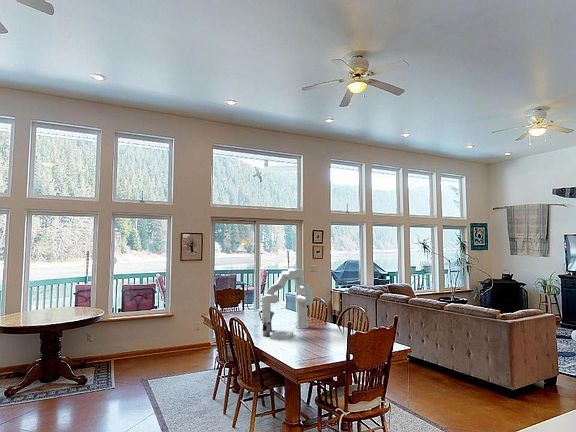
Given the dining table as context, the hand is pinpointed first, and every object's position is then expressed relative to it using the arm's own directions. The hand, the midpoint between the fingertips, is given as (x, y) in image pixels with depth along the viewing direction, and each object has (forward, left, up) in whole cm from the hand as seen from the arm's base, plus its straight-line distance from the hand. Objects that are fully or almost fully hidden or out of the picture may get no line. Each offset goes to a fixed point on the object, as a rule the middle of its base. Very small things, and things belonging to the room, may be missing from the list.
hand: (266, 329), depth 335 cm
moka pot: (-20, -6, -6) cm, 22 cm away
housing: (-2, +14, -6) cm, 15 cm away
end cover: (0, 0, -6) cm, 6 cm away
